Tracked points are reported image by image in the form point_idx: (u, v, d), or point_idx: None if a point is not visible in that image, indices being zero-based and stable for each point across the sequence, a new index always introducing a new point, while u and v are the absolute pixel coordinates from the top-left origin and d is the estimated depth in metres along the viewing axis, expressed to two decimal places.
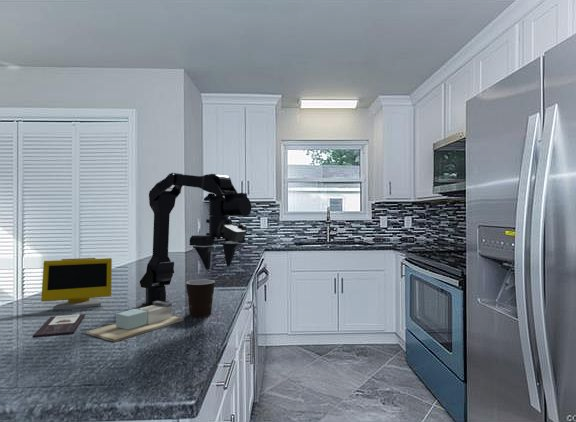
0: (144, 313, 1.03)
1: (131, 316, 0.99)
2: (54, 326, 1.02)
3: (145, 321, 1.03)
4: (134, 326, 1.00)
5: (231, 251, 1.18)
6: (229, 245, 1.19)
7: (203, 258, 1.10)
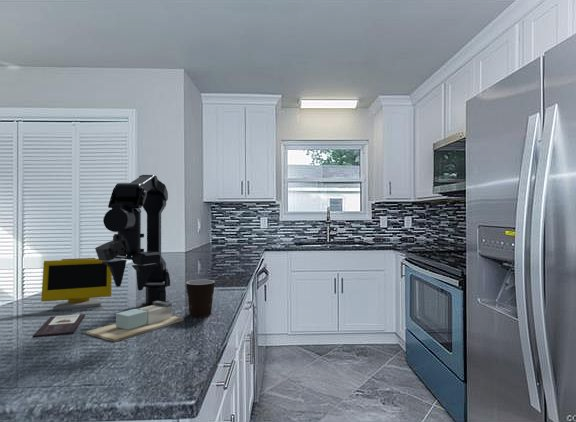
0: (144, 313, 1.03)
1: (131, 316, 0.99)
2: (54, 326, 1.02)
3: (145, 321, 1.03)
4: (134, 326, 1.00)
5: None
6: None
7: None
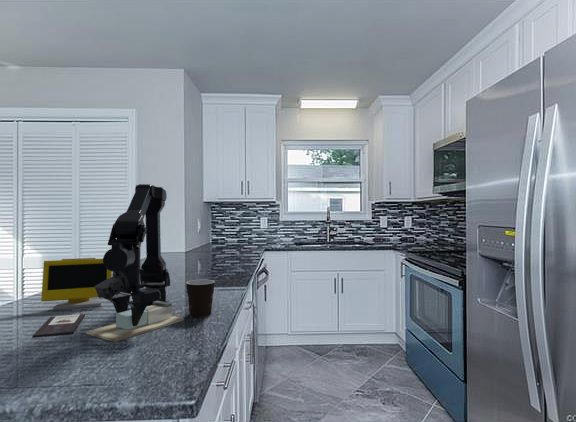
0: (144, 313, 1.03)
1: (131, 316, 0.99)
2: (54, 326, 1.02)
3: (145, 321, 1.03)
4: (134, 326, 1.00)
5: None
6: None
7: None
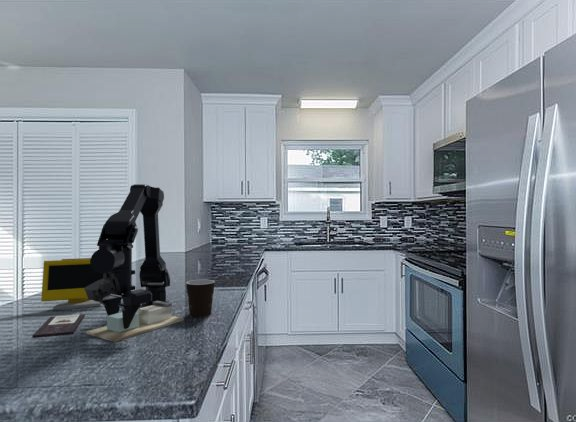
0: (135, 315, 1.00)
1: (122, 318, 0.97)
2: (54, 326, 1.02)
3: (137, 323, 1.01)
4: (125, 329, 0.98)
5: None
6: None
7: None
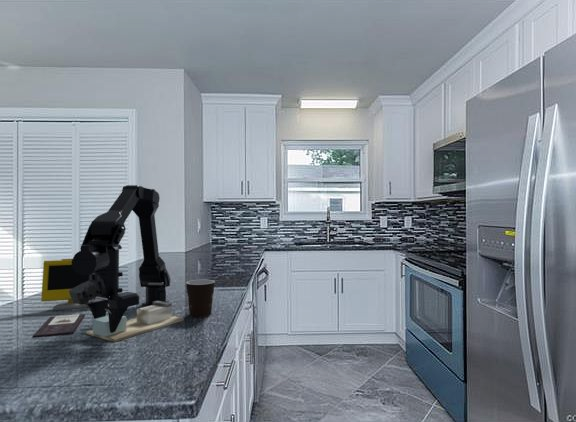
0: (123, 319, 0.97)
1: (108, 322, 0.94)
2: (54, 326, 1.02)
3: (124, 327, 0.98)
4: (111, 333, 0.94)
5: None
6: None
7: None
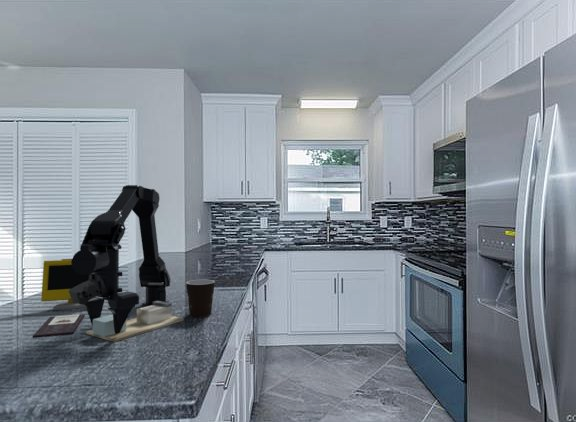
0: None
1: (108, 322, 0.94)
2: (54, 326, 1.02)
3: (124, 327, 0.97)
4: (111, 333, 0.94)
5: None
6: None
7: None
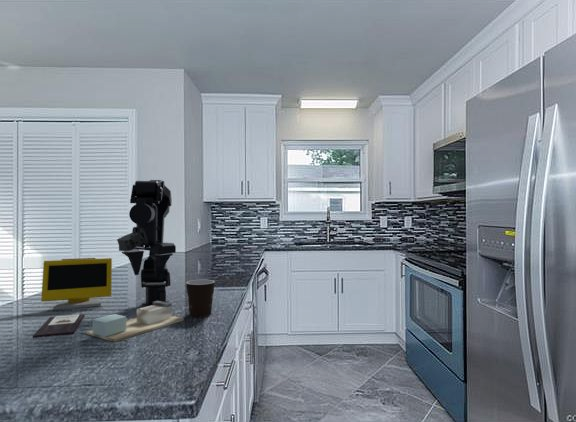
0: (122, 319, 0.97)
1: (108, 322, 0.94)
2: (54, 326, 1.02)
3: (124, 327, 0.97)
4: (111, 333, 0.94)
5: None
6: None
7: None
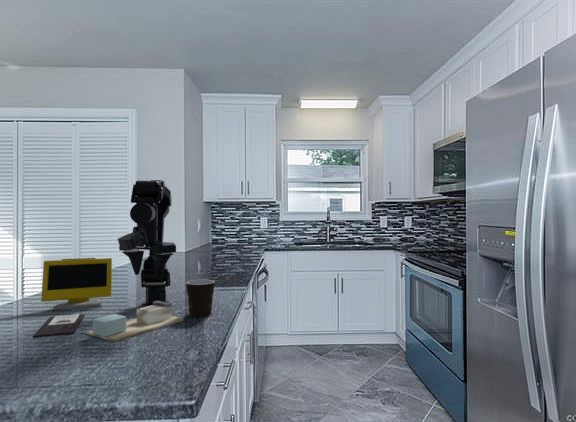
0: (122, 319, 0.97)
1: (108, 322, 0.94)
2: (54, 326, 1.02)
3: (124, 327, 0.97)
4: (111, 333, 0.94)
5: None
6: None
7: None
